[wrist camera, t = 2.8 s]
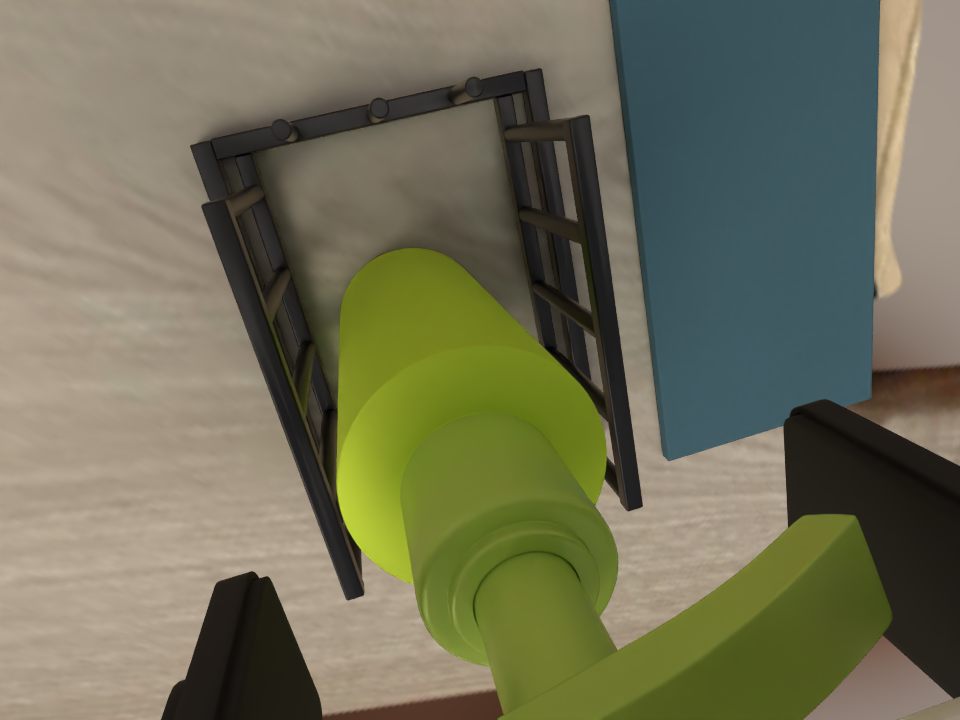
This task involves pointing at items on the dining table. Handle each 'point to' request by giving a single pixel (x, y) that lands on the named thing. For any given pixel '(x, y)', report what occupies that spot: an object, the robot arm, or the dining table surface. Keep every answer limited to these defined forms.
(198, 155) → the dish rack
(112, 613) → the dining table surface
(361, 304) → the soap dispenser
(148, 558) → the dining table surface
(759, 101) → the drying mat
